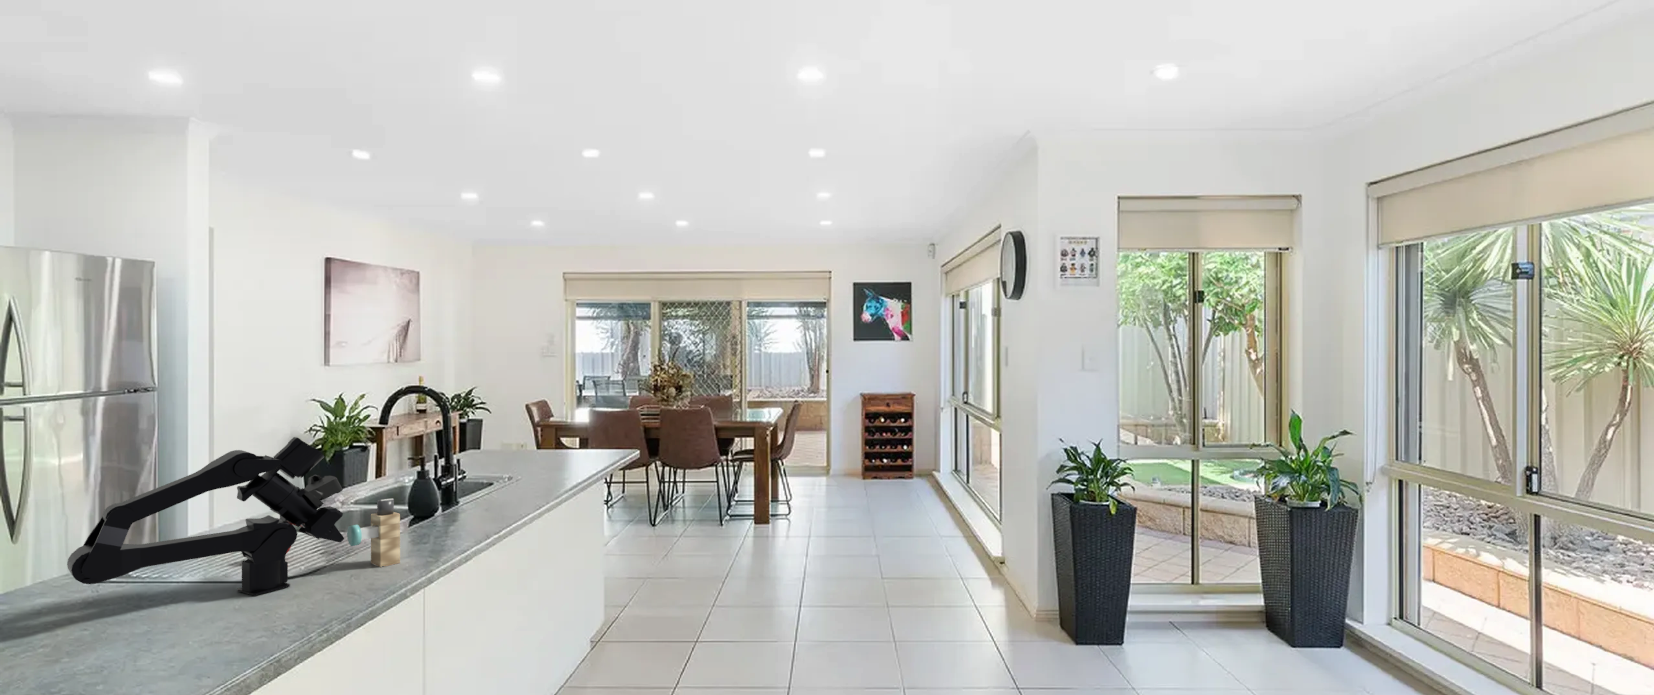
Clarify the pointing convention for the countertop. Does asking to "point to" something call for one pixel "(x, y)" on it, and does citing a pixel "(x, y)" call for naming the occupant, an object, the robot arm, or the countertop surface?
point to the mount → (386, 540)
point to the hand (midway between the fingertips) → (341, 540)
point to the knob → (361, 533)
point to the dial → (385, 506)
